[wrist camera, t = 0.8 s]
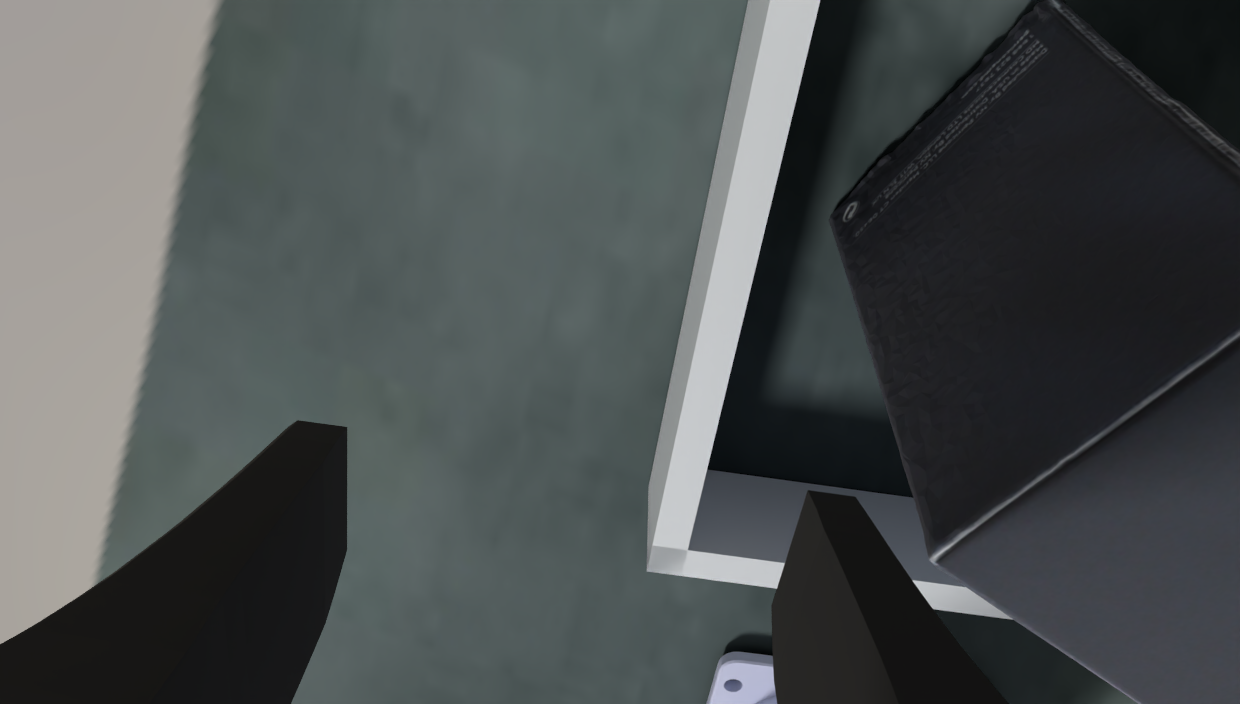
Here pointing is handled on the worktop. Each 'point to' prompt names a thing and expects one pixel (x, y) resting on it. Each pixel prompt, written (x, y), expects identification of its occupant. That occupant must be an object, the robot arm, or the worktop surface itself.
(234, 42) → the worktop surface
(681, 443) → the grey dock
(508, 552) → the worktop surface
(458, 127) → the worktop surface
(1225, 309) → the small box
